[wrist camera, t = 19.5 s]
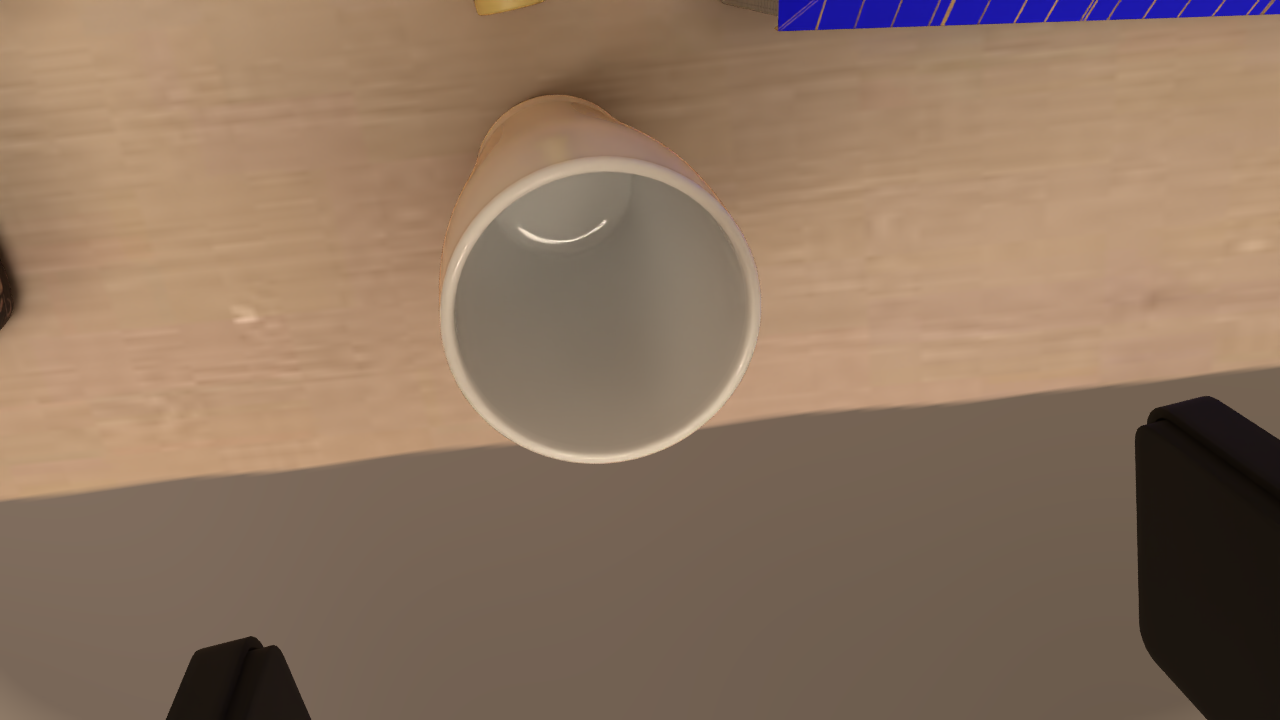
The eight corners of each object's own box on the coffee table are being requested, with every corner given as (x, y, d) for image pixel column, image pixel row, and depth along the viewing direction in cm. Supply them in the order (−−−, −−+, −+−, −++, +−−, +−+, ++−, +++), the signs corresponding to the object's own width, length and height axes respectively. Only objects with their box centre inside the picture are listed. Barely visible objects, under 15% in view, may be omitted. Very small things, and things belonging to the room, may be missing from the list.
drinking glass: (647, 57, 34) (759, 133, 20) (664, 257, 37) (775, 445, 23) (437, 81, 34) (406, 176, 20) (470, 283, 36) (463, 492, 22)
